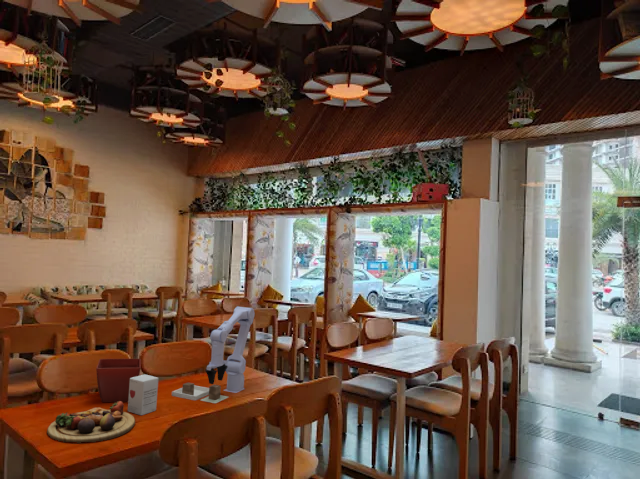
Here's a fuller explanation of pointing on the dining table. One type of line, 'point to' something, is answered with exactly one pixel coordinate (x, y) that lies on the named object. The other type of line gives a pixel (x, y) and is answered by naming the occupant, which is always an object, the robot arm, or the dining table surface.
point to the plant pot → (116, 378)
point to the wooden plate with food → (92, 425)
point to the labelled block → (214, 392)
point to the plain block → (188, 388)
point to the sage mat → (214, 400)
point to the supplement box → (142, 394)
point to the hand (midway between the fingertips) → (215, 381)
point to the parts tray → (198, 393)
